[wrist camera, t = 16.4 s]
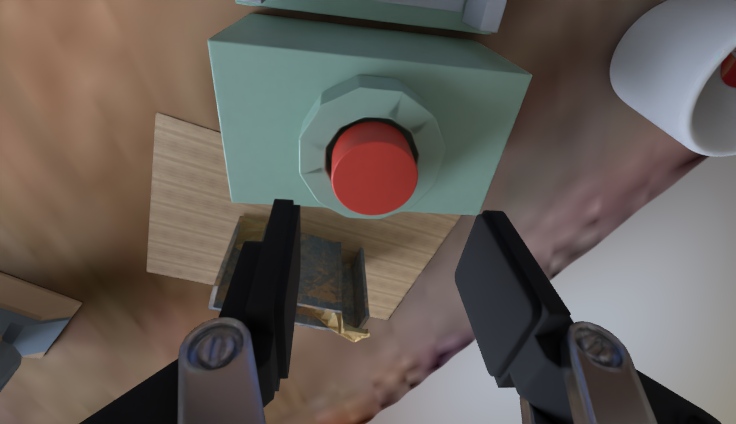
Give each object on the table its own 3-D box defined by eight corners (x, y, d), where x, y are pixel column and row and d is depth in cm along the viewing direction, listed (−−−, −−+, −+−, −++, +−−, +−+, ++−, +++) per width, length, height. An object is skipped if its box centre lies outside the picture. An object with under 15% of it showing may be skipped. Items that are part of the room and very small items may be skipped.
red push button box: (249, 12, 20) (190, 48, 12) (474, 39, 22) (554, 86, 14) (259, 138, 25) (221, 224, 17) (443, 152, 26) (489, 235, 18)
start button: (334, 116, 14) (333, 137, 13) (417, 124, 15) (426, 144, 13) (330, 188, 16) (329, 214, 15) (402, 192, 17) (409, 218, 15)
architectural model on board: (365, 244, 32) (374, 337, 24) (353, 266, 33) (358, 360, 26) (241, 211, 28) (204, 306, 21) (234, 237, 30) (198, 334, 22)
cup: (619, -65, 19) (761, -76, 13) (766, -96, 19) (989, -125, 12) (580, 117, 26) (661, 170, 19) (688, 96, 25) (808, 143, 19)
